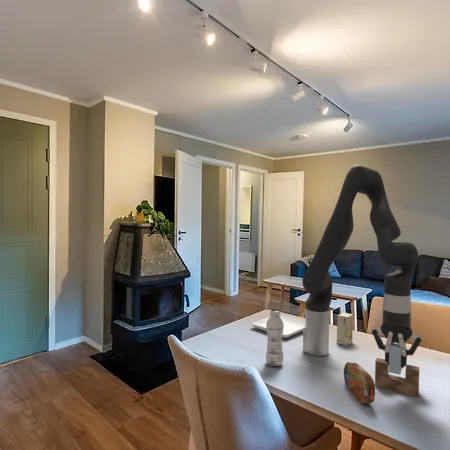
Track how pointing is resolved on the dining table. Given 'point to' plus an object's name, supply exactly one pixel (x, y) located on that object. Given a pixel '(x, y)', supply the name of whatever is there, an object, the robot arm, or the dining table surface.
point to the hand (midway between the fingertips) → (395, 365)
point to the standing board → (397, 378)
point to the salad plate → (289, 323)
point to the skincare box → (344, 328)
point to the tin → (359, 383)
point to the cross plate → (395, 358)
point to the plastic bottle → (274, 338)
